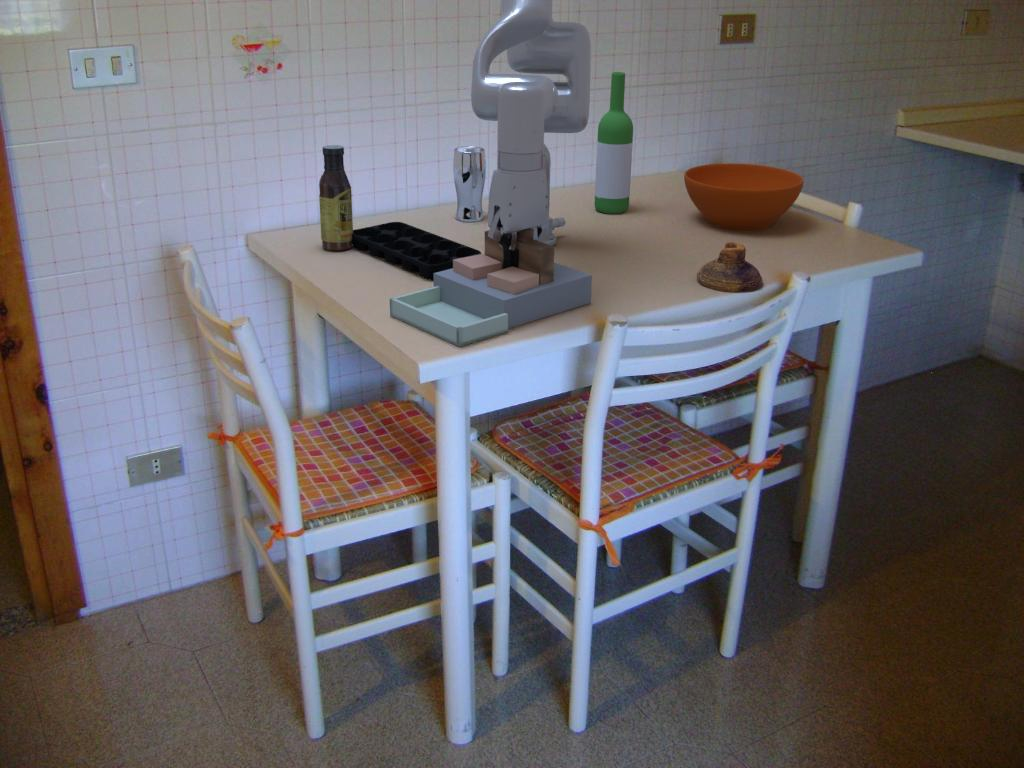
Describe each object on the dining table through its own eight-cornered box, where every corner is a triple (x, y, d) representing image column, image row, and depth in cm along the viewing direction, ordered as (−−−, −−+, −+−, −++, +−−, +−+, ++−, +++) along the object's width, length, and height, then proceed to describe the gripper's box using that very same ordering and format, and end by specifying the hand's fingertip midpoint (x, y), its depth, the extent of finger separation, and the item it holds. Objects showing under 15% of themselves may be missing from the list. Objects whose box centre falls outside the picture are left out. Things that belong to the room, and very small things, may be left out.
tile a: (482, 264, 185) (482, 253, 184) (502, 273, 181) (502, 262, 180) (453, 270, 182) (452, 259, 181) (472, 280, 177) (472, 268, 177)
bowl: (822, 226, 229) (828, 180, 225) (739, 244, 216) (744, 195, 212) (738, 201, 248) (742, 158, 244) (657, 216, 235) (660, 171, 231)
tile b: (512, 277, 179) (512, 266, 178) (538, 286, 175) (539, 274, 174) (487, 285, 175) (487, 274, 174) (514, 294, 171) (514, 282, 170)
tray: (437, 302, 182) (437, 285, 181) (507, 331, 170) (508, 314, 169) (390, 315, 176) (389, 298, 175) (459, 347, 164) (459, 328, 162)
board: (519, 277, 195) (520, 251, 193) (590, 302, 183) (591, 275, 181) (434, 301, 183) (433, 273, 181) (503, 330, 170) (503, 300, 168)
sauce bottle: (347, 253, 207) (342, 151, 199) (317, 251, 208) (310, 149, 200) (358, 244, 213) (353, 144, 205) (328, 241, 214) (323, 142, 206)
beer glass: (491, 217, 233) (492, 148, 226) (473, 224, 227) (473, 154, 221) (465, 212, 236) (465, 144, 230) (447, 219, 231) (446, 150, 224)
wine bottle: (619, 216, 234) (626, 76, 222) (587, 211, 238) (593, 73, 226) (634, 209, 240) (643, 72, 228) (604, 204, 244) (610, 69, 232)
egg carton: (442, 287, 191) (441, 267, 189) (326, 255, 207) (325, 236, 206) (503, 264, 204) (503, 245, 202) (389, 235, 220) (388, 218, 219)
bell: (743, 298, 187) (747, 258, 184) (684, 283, 194) (687, 245, 191) (774, 282, 195) (778, 244, 192) (716, 269, 202) (719, 231, 199)
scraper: (497, 261, 187) (497, 217, 184) (553, 280, 178) (554, 234, 174) (484, 264, 185) (484, 220, 182) (540, 284, 176) (541, 237, 173)
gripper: (540, 150, 181) (537, 254, 189) (467, 164, 171) (467, 273, 178) (571, 158, 176) (567, 264, 184) (498, 172, 166) (497, 284, 173)
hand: (518, 267), depth 181 cm, fingers closed on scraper, 2 cm apart
